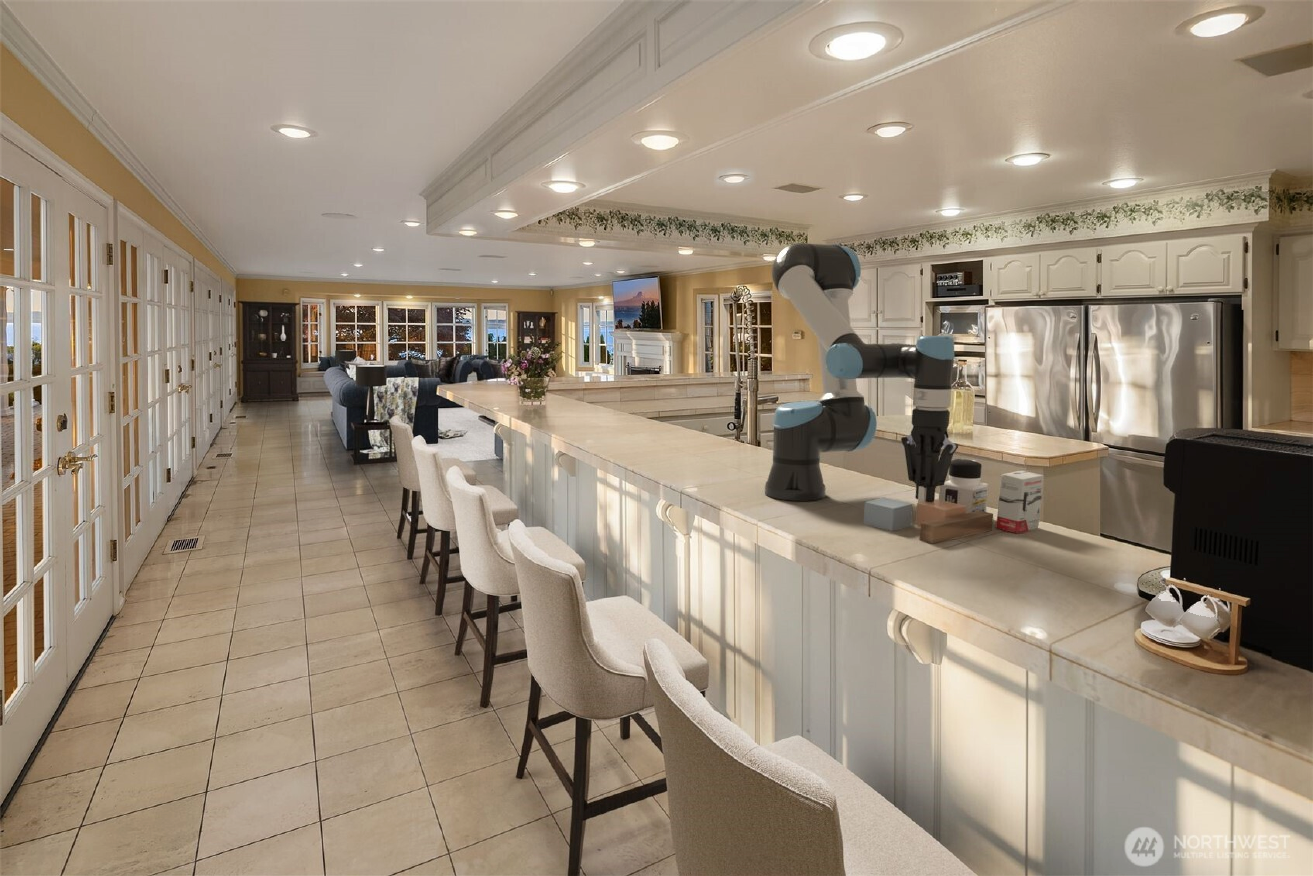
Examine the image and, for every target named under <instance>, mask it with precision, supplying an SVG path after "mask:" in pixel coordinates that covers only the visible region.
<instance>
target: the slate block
mask: <svg viewBox="0 0 1313 876" xmlns="http://www.w3.org/2000/svg"><path fill="white" fill-rule="evenodd" d="M863 510H864V513H863V524H864V525H866V526H871V527H875V528H877V529H878V528H879V529H882V530H886V531H890V532H893V531H897V530H901V529H904V528H908V527H911V526H912V513H913V503H911V502H906V501H901V500H897V499H893V498H887V497H880V498H876V499H871V500H868V501H865V502H864V509H863Z"/></svg>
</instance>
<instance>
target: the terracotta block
mask: <svg viewBox="0 0 1313 876" xmlns="http://www.w3.org/2000/svg"><path fill="white" fill-rule="evenodd" d="M961 514H966V506H964V505H960V504H956V503H952V502H947V501H943V500H939V498H938V499H935V500H934V501H933V502H926V501H925V502H920V503H918V502H917V503H916V513H915V526H919V527H920V525H921V523H923V522H928V521H932V520H937V519H942V518H947V517H952V516H957V515H961Z"/></svg>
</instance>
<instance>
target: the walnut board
mask: <svg viewBox="0 0 1313 876" xmlns="http://www.w3.org/2000/svg"><path fill="white" fill-rule="evenodd" d="M993 520H994V513H992V512H988V511H986V512H984V511H976V512H971V513H966V514H961V515H957V516H952V517H947V518H942V519H937V520H932V521H928V522H923V523H921V525H920V526H919V527H920V528H919V541H922V542H925V543H929V544H932V545H933V544H936V543H941V542H946V541H950V540H955V539H958V538H963V537H967V536H971V535H976V534H980V533H983V532H984V533H985V532H989V531H992V530H993V522H994V521H993Z"/></svg>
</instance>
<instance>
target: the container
mask: <svg viewBox="0 0 1313 876" xmlns="http://www.w3.org/2000/svg"><path fill="white" fill-rule="evenodd" d="M981 476H982V464H981V462H979V461H978V460H974V459H970V458H956V459H952V460H951V463H950V467H949V470H948V479H949V480H947V481H946V480H945V483H944V485H941V486H938V487H939V488H938V499H939V500H943V501H947V502H952V503H956V504H960V505H964V506H966V513H971V512H976V511H984V512H987V508H988V507H987V504H988V496H989V495H988V494H989V484H988V483H986V482H985V483H984V482H981V479H982V478H981Z"/></svg>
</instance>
